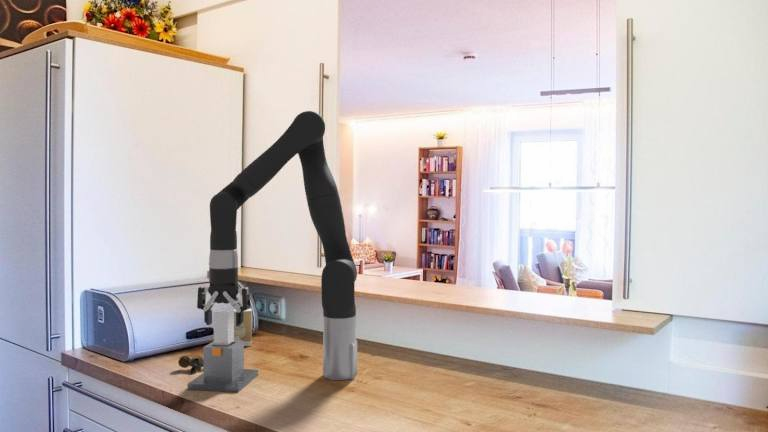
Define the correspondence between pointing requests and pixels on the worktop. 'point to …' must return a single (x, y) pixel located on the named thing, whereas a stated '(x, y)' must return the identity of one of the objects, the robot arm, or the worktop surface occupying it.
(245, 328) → the skincare box
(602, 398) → the worktop surface
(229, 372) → the stand base
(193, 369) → the regulator
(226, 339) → the column
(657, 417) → the worktop surface
